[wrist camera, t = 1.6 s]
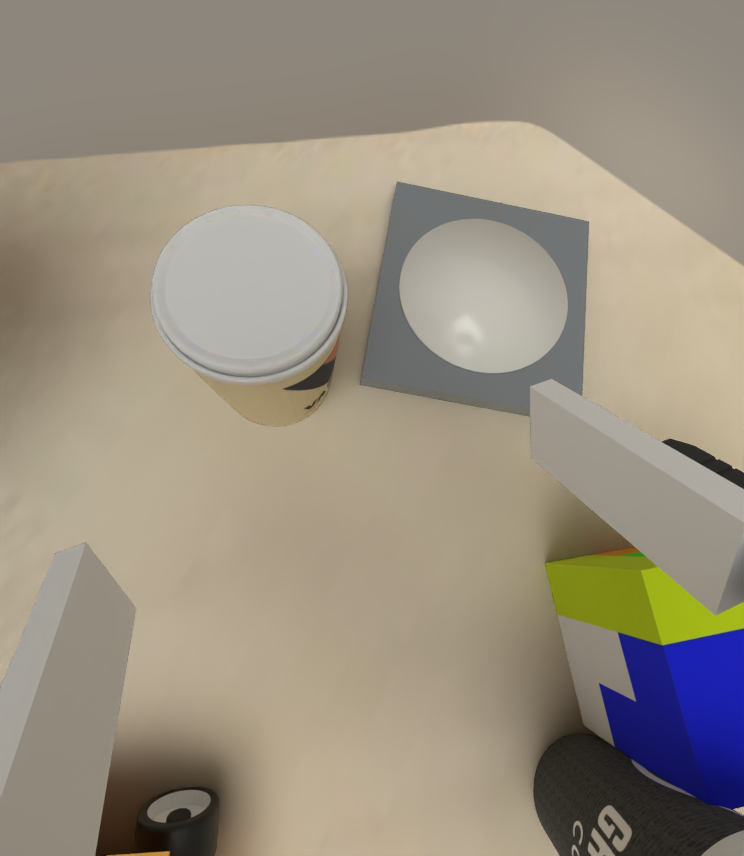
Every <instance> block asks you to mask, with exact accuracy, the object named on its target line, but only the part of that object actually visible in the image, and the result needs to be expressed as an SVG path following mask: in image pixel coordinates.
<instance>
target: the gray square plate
mask: <svg viewBox="0 0 744 856" xmlns="http://www.w3.org/2000/svg"><path fill="white" fill-rule="evenodd" d="M588 235H589V221H584V220H579V219H574V218H569V217H565V216H560V215H555V214H550V213H545V212H541V211H536V210H531V209H526V208H521V207H517V206H512V205H507V204H502V203H497V202H493V201H488V200H483V199H478V198H473V197H468V196H464V195H459V194H454V193H449V192H444V191H440V190H435V189H430V188H425V187H420V186H416V185H411V184H406V183H401V182H397V184H396V189H395V195H394V200H393V206H392V211H391V217H390V222H389V228H388V233H387V239H386V244H385V250H384V255H383V261H382V266H381V272H380V277H379V283H378V288H377V294H376V299H375V305H374V310H373V316H372V321H371V327H370V332H369V338H368V343H367V349H366V354H365V360H364V365H363V371H362V376H361V382H360V385H364V386H370V387H375V388H381V389H386V390H391V391H397V392H402V393H407V394H413V395H418V396H423V397H429V398H434V399H440V400H445V401H450V402H456V403H461V404H466V405H472V406H477V407H482V408H488V409H493V410H499V411H504V412H509V413H515V414H520V415H525V416H530V386H533V385H536V384H538V383H541V382H544V381H547V380H550V379H553V380H554V381H556V382H558V383H560V384H561V385H563V386H565V387H567V388H568V389H570V390H572V391H574V392H575V393H577V394H579V395H581V396H582V384H583V359H584V334H585V310H586V285H587V260H588Z"/></svg>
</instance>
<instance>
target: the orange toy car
mask: <svg viewBox="0 0 744 856" xmlns="http://www.w3.org/2000/svg"><path fill="white" fill-rule="evenodd" d="M218 817H219V797H218V795H217V794H216V793H215V792H214V791H212V790H210V789H207V788H202V787H191V788H180V789H175V790H171V791H168V792H165V793H163V794H161V795H158V796H156V797H155V798H153V799H151V800H150V801H149V802H147V803H146V804H145V805H144V806H143V807H142V808H141V809H140V811H139V813H138V816H137V822H136V832H135V842H134V852H133V854H122V855H108V856H214V855H215V852H216V848H217V833H218Z"/></svg>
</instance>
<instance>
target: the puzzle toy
mask: <svg viewBox="0 0 744 856" xmlns="http://www.w3.org/2000/svg"><path fill="white" fill-rule="evenodd" d="M545 566H546V570H547V574H548V578H549V582H550V587H551V591H552V595H553V599H554V603H555V607H556V612H557V616H558V620H559V624H560V628H561V633H562V637H563V641H564V645H565V649H566V653H567V658H568V662H569V666H570V670H571V674H572V678H573V683H574V687H575V691H576V695H577V699H578V704H579V708H580V712H581V716H582V720H583V724H584V726H586V727H587V728H588V729H590V730H591V731H593V732H594V733H595V734H597V735H598V736H600V737H601V738H603V739H604V740H605V741H607V742H608V743H610V744H611V745H613V746H614V747H615V748H617V749H618V750H620V751H621V752H622V753H624V754H625V755H627V756H628V757H630V758H631V759H632V760H634V761H635V762H637V763H638V764H640V765H641V766H642V767H644V768H646V769H648V770H649V771H651V772H653V773H654V774H656V775H658V776H660V777H661V778H663V779H665V780H666V781H668V782H670V783H672V784H673V785H675V786H677V787H679V788H680V789H682V790H684V791H685V792H687V793H689V794H691V795H692V796H694V797H696V798H698V799H699V800H701V801H703V802H705V803H706V804H708V805H716V806H721V807H725V808H728V809H731V810H732V809H735V808H739V807H743V806H744V602H743V603H740V604H738V605H736V606H734V607H732V608H730V609H728V610H726V611H724V612H722V613H720V614H718V615H716V616H715V615H714V614H713V613H712V612H710V611H709V610H708V609H707V608H706V607H705V606H703V605H702V604H701V603H700V602H699V601H697V600H696V599H695V598H694V597H693V596H692V595H690V594H689V593H688V592H687V591H686V590H685V589H683V588H682V587H681V586H680V585H679V584H678V583H676V582H675V581H674V580H673V579H672V578H671V577H669V576H668V575H667V574H666V573H665V572H664V571H662V570H661V569H660V568H659V567H658V566H657V565H655V564H654V563H653V562H652V561H651V560H650V559H648V558H647V557H646V556H645V555H644V554H643V553H641V552H640V551H639V550H638V549H637V548H636V547H632V548H626V549H621V550H615V551H610V552H604V553H598V554H593V555H587V556H581V557H576V558H570V559H565V560H559V561H553V562H548V563H545Z"/></svg>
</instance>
